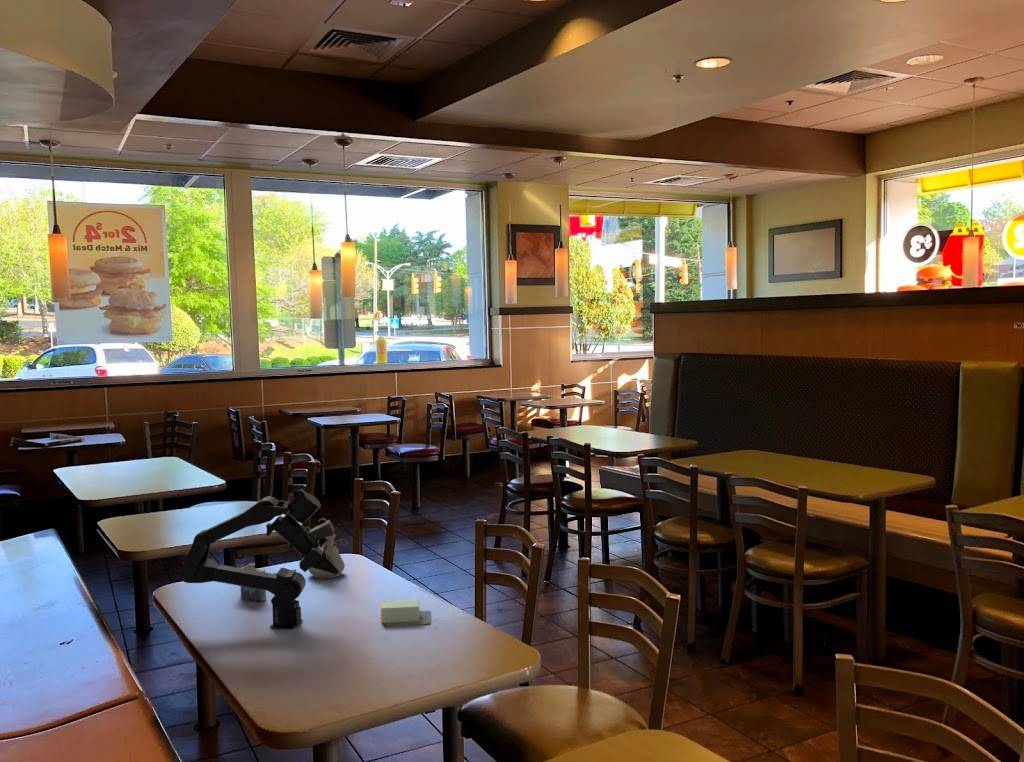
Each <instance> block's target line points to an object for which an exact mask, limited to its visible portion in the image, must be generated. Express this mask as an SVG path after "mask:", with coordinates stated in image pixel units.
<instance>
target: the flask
mask: <svg viewBox="0 0 1024 762" xmlns="http://www.w3.org/2000/svg"><path fill="white" fill-rule="evenodd" d="M255 566H256V563H255V562H253V563H252V562H251V563H248V565H246V566H242V567H240V568H242V569H248V570H254V571H260V572H265V573H266V570H265V569H260V568H255ZM240 598H241V599H242V600H246V601H252V602H257V603H259V602H260V603H263V602H265V601H267V590H262V589H256V588H250V587H244V586H240Z"/></svg>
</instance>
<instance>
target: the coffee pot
mask: <svg viewBox="0 0 1024 762" xmlns="http://www.w3.org/2000/svg"><path fill="white" fill-rule="evenodd" d="M328 537H329V540H328V541H326V542H325V543H324V544H323V545H322V546H321V547H324V548H325V547H326V545H328V554H329V556H330V557H331V559H332V560H333V562H334V563H335V565H336V566H337V568H338V569H339V573H338V574H339V575H340V574H341V573H342V572H343V571H344V569H345V566H346V565H345V562H344V560H343V558H342V556H341V554H340V552H339V550H338V547H337V546H339V545H341V546H347V544H348V540H347V539H345V538H339V540H336V541H335V538H336V534H335V533H334V534H332V535H331V536H328ZM345 541H346V544H343V543H344V542H345ZM307 571H308V572H309V573H310V574H311V576H313V577H314V578H315V579H321V580H327V579H326V578H330V579H333V578H332V577H334V578H336V577H335V576H337V575H338V574H333V573H330V572H327V571H323V570H320V569H316V568H309V569H308V570H307ZM339 575H338V576H339ZM338 576H337V577H338ZM323 578H324V579H323Z"/></svg>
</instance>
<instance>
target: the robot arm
mask: <svg viewBox="0 0 1024 762" xmlns="http://www.w3.org/2000/svg"><path fill="white" fill-rule="evenodd" d="M321 506H322V504H321V502H320V501H319V499H318V498H316V496H315V495H312V494H311V493H310V492H306V491H305V490H304V489H300V491H298V492H297V494H296V496H295V497H294V498H293V499H292V500H291V501H288V500H279V499H278V498H276V497H273V496H272V495H271V496H270V495H269V496H264V497H263V498H262V499H260V500H259V501H257V502H256V503H255V504H253V505H252V506H250V507H249V508H247V509H246V510H245V511H243V512H241V513H238V514H237V515H235V516H232V517H231V518H228V519H227V520H224V521H222V522H219V523H218V524H216V525H213V526H212V527H209V528H207V529H203V530H201V531H199V532H198V533H197V534H195V536H194V537H193V541H192V545H191V547H190V549H189V551H188V554H187V556H186V558H185V559H184V560H185V561H184V562H182V564H181V565H180V566H179V568H178V576H179V578H180V580H181V581H182V582H184V583H186V584H205V583H210V582H212V583H213V582H214V583H215V582H217V583H223V584H226V585H227V584H228V585H232V586H239V587H241V586H244V587H250V588H256V589H262V590H266V592H267V591H268V592H269V593H271V594H272V595H273V597H272V598H271V599H270V602H271V606H272V608H271V609H272V624H270V625H269V628H271V629H283V630H293V629H294V628H296V627H297V626H299V625H300V624H301V623H302V622H303V619H302V607H301V606H300V600H297V598H299V596H300V595H301V593H302V592H303V591H304V589H305V587H306V582H307V581H306V579H305V578H306V577H304V576H303V574H302V573H301V572H298V571H297V569H288V568H286V567H280V568H279V570H278V571H277V572H274V573H272V572H271V573H269V572H266V571H265V572H260V571H254V570H248V569H242V568H241V567H235V566H231V565H226V564H225V565H224V564H220V563H218V562H216V561H214V560H213V559H211V558H210V557H209V555H210V550H211V545H212V544H214V543H215V542H217V541H220V540H222V539H224V538H226V537H228V536H230V535H232V534H234V533H237V532H239V531H241V530H243V529H246V528H247V527H251V526H258V525H262V524H265V523H267V524H266V525H265V527H266V536H267V537H269V536H271V534H272V533H273V532H275V533H276V534H277V535H278V536H280V537H281V538H282V539H283V540H284V541H285V542H286V543H288V544H289V545H288V546H287V547H288V548H290V549H294V550H295V551H297V553H299V555H300V556H299V557H300V558H301V559H300V561H299V569H300V570H301V571H302V572H304V573H306V572H308V571H309V570H308V569H309V568H316V569H320V570H323V571H327V572H330V573H333V574H338V573H339V569H338V568H337V566H336V565H335V563H334V562H333V560H332V559H331V557H330V556H329V554H328V545H326V547H325V548H324V547H321V546H322V545H323V544H324V543H325V542H326V541H328V540H329V537H328V536H331V535H332V534H335V531H336V529H335V527H334V525H333V522H332V521H331V520H330V519H328V520H327V518H325V517H323V518H320V519H318V523H317V525H315V527H313V528H310V527H309V526H305V527H304V526H303V525H302V524H301V523H300V522H304V523H305V522H307V521H308V520H309V519H310V518H311V517H312V516H313V515H314V514H315V513H316V512H317V511H318V510H319V509H320V508H321ZM287 511H288V512H287ZM285 512H287V513H286V514H285V515H284V513H285ZM283 515H284V516H283ZM275 517H277V518H275ZM274 518H275V520H274V521H272V520H273V519H274ZM271 521H272V523H269V522H271Z"/></svg>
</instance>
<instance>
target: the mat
mask: <svg viewBox="0 0 1024 762" xmlns="http://www.w3.org/2000/svg"><path fill="white" fill-rule="evenodd" d="M423 624H429V625H431V610H419V621H413V622H393V623H384V627H403V626H404V627H405V626H406V625H408V626H423ZM406 627H407V626H406Z"/></svg>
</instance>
